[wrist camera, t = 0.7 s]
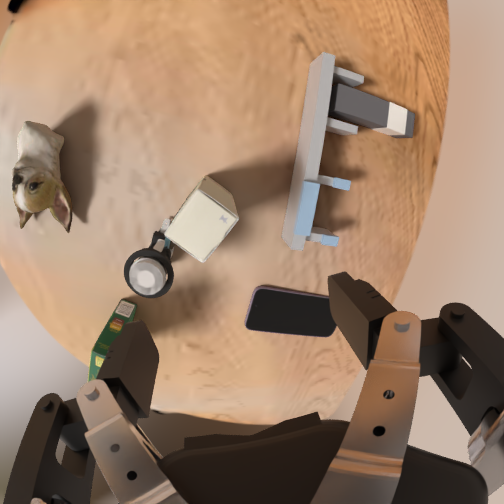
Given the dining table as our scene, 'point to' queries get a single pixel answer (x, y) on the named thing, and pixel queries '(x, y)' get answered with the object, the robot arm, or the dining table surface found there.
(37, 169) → the ceramic sculpture
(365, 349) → the robot arm
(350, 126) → the grey pronged rack
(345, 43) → the dining table surface
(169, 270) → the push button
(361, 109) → the gray rectangular block
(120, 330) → the coffee box
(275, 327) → the smartphone
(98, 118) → the dining table surface
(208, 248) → the box
